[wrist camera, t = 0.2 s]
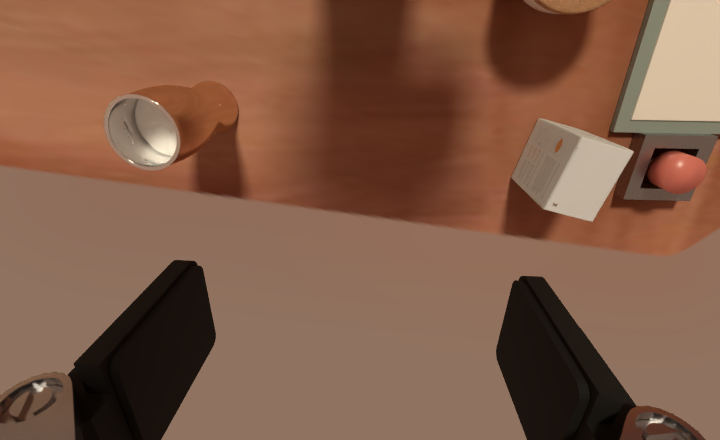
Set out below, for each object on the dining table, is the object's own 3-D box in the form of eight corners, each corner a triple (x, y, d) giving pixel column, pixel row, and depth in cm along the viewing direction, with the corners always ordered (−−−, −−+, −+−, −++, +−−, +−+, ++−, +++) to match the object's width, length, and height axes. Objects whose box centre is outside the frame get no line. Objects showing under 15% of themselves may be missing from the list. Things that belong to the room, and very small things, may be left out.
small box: (549, 188, 47) (592, 224, 37) (509, 177, 46) (542, 211, 37) (581, 128, 43) (637, 151, 34) (537, 116, 43) (582, 136, 34)
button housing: (634, 131, 43) (646, 134, 41) (704, 132, 43) (718, 136, 41) (613, 193, 47) (623, 199, 45) (677, 194, 46) (689, 201, 45)
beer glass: (208, 144, 46) (138, 184, 33) (174, 93, 44) (83, 114, 30) (253, 120, 45) (198, 153, 31) (220, 66, 42) (145, 75, 29)
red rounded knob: (654, 149, 42) (672, 156, 40) (693, 150, 42) (713, 157, 40) (641, 185, 44) (657, 193, 42) (678, 186, 44) (696, 194, 42)
